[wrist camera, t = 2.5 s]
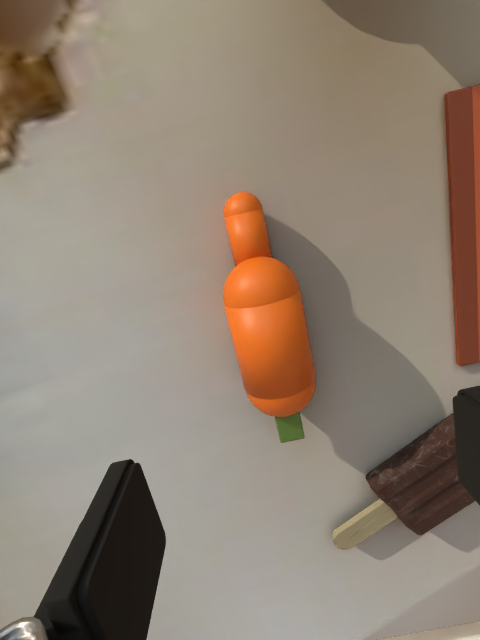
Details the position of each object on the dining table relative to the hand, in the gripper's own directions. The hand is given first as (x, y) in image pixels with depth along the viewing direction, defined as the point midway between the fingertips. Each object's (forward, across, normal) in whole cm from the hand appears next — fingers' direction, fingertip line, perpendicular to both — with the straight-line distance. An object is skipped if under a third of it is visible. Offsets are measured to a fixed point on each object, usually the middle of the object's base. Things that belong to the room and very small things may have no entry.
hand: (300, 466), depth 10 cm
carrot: (+11, 0, -1) cm, 11 cm away
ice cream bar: (+12, -8, +12) cm, 19 cm away
